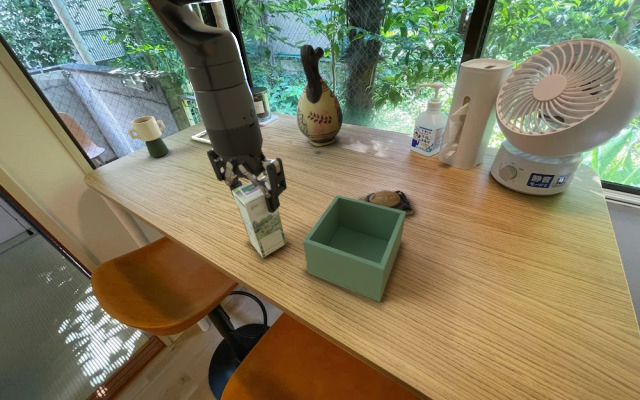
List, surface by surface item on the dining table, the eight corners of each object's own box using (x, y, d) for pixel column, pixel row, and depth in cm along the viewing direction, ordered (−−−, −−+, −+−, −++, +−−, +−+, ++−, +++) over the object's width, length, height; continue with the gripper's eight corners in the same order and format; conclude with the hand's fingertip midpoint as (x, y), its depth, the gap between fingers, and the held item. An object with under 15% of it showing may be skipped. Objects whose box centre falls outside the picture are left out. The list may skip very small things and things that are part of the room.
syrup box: (273, 230, 57) (258, 175, 48) (287, 245, 53) (274, 189, 44) (250, 243, 54) (230, 188, 45) (263, 260, 50) (244, 203, 41)
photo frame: (222, 144, 91) (191, 136, 99) (223, 147, 92) (192, 139, 100) (250, 128, 100) (220, 122, 109) (251, 131, 101) (221, 125, 109)
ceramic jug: (308, 130, 98) (298, 39, 80) (347, 132, 94) (346, 37, 75) (291, 150, 86) (274, 49, 67) (335, 154, 81) (330, 47, 63)
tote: (379, 302, 42) (384, 269, 36) (308, 273, 47) (302, 241, 42) (400, 244, 51) (406, 211, 45) (338, 225, 56) (336, 194, 51)
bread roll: (368, 221, 57) (368, 209, 54) (360, 198, 63) (360, 186, 61) (415, 216, 57) (418, 203, 54) (402, 193, 63) (404, 181, 61)
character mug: (171, 146, 97) (155, 112, 89) (179, 151, 93) (162, 116, 84) (141, 157, 91) (120, 122, 83) (148, 163, 87) (127, 127, 79)
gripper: (175, 121, 37) (214, 207, 47) (252, 134, 31) (277, 229, 41) (214, 104, 42) (241, 185, 52) (286, 112, 36) (300, 202, 46)
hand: (257, 204), depth 47 cm, fingers closed on syrup box, 7 cm apart
